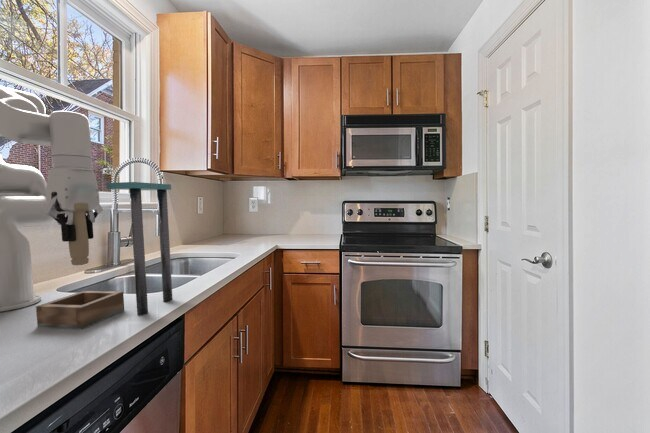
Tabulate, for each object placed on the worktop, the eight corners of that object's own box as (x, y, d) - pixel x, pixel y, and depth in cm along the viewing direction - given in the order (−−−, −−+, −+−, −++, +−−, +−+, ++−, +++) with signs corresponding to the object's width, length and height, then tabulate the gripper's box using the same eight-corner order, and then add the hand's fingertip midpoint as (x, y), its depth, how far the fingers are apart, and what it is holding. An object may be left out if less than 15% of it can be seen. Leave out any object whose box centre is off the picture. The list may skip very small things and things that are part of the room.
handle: (65, 268, 72) (60, 204, 71) (70, 263, 77) (65, 204, 76) (90, 265, 74) (86, 203, 73) (94, 261, 80) (90, 203, 79)
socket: (37, 327, 71) (35, 306, 71) (84, 308, 83) (83, 290, 83) (82, 329, 70) (81, 307, 69) (124, 310, 81) (123, 291, 81)
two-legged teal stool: (115, 315, 77) (106, 183, 75) (153, 298, 91) (147, 185, 89) (142, 316, 76) (134, 181, 74) (177, 298, 90) (170, 184, 88)
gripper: (90, 168, 83) (94, 236, 84) (21, 161, 66) (28, 245, 68) (115, 167, 82) (119, 235, 83) (51, 160, 65) (57, 245, 66)
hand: (78, 239), depth 75 cm, fingers closed on handle, 4 cm apart
